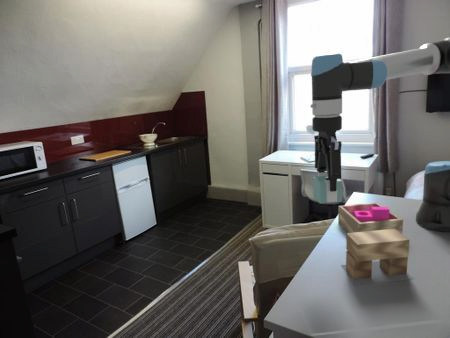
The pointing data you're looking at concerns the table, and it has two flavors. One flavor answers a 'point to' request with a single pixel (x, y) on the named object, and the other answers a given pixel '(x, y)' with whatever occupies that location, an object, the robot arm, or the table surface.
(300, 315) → the table surface
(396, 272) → the pillar
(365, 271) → the pillar
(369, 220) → the bracket
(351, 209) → the wooden open box
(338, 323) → the table surface
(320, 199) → the cube
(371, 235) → the lintel
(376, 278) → the mat
